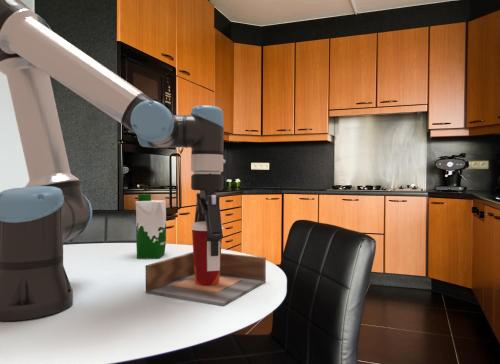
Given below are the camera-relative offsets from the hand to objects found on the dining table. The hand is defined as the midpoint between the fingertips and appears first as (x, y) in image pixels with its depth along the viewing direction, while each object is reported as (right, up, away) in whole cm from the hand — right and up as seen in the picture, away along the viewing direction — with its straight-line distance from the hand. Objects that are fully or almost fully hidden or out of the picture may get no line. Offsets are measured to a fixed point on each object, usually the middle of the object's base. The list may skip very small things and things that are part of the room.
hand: (206, 264), depth 93 cm
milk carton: (-22, -5, +35) cm, 41 cm away
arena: (+1, -5, -1) cm, 5 cm away
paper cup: (0, -5, 0) cm, 5 cm away
